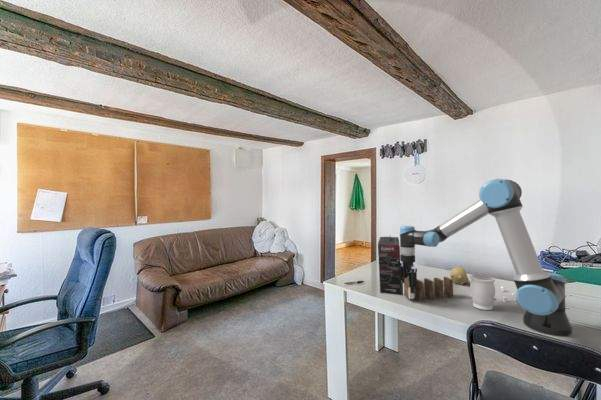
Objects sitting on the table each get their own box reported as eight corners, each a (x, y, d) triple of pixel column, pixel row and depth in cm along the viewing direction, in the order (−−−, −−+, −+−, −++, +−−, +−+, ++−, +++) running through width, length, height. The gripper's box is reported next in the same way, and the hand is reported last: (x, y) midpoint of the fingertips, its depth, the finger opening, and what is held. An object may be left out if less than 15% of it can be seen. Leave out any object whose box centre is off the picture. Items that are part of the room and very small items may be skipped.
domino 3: (427, 295, 152) (427, 278, 151) (433, 299, 147) (432, 281, 146) (424, 296, 151) (424, 278, 151) (430, 299, 146) (429, 281, 146)
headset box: (401, 295, 154) (400, 237, 154) (378, 293, 158) (377, 237, 158) (400, 281, 177) (399, 232, 177) (380, 280, 182) (379, 231, 181)
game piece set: (491, 287, 163) (491, 281, 163) (529, 299, 144) (529, 292, 144) (468, 292, 156) (468, 286, 156) (505, 305, 137) (505, 297, 137)
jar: (472, 301, 142) (471, 273, 142) (496, 305, 136) (495, 276, 135) (469, 308, 134) (468, 278, 134) (494, 313, 127) (494, 281, 127)
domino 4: (437, 295, 152) (436, 277, 152) (443, 298, 148) (442, 280, 147) (434, 295, 152) (433, 277, 152) (440, 298, 147) (439, 280, 147)
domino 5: (446, 294, 153) (446, 276, 153) (453, 297, 148) (452, 279, 148) (444, 294, 153) (443, 276, 153) (450, 297, 148) (449, 279, 148)
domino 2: (417, 296, 151) (417, 279, 151) (423, 300, 146) (422, 281, 146) (414, 297, 150) (414, 279, 150) (420, 300, 145) (419, 282, 145)
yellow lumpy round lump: (468, 290, 167) (474, 277, 171) (462, 279, 162) (468, 265, 166) (451, 286, 175) (457, 273, 179) (445, 275, 170) (452, 262, 174)
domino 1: (407, 295, 150) (407, 277, 150) (412, 298, 145) (412, 280, 145) (404, 295, 150) (404, 277, 149) (409, 298, 145) (409, 280, 144)
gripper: (424, 257, 138) (424, 302, 139) (405, 250, 156) (406, 290, 157) (410, 258, 137) (411, 303, 138) (393, 251, 155) (394, 291, 156)
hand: (408, 296), depth 147 cm, fingers closed on domino 1, 5 cm apart
